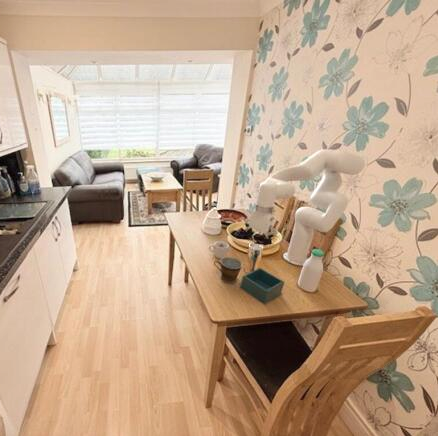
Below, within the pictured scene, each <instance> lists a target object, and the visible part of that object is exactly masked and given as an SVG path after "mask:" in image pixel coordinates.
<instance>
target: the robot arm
mask: <svg viewBox="0 0 438 436" xmlns="http://www.w3.org/2000/svg"><path fill="white" fill-rule="evenodd" d="M365 166H366V160H365V158H364V157H363V156H359V155H357V154H353V153H351V152H347V151H343V150H336V149H327V148H324V149H320V150H317V151H316V152H315V153H313V154H312V155H310V156H309V157H308V158H306V159H304V160H302V162H301V163H299V164H297V165H292V166H288V167H285V168H283V169H280V170H278V171H276V172H274V173H273V174H271V175H270V176H269V177H267V178H266V180H265V181H262V182H261V183H260V184H259V188H258V192H257V197H256V203H255V207H254V208H253V210H252V213H251V215H250V217H249V218H246V219H244V220H243V221H244V225H245V228H246V235H245V237H246V238H250V237H252V235H253V230H255V231H257V232H259V233H261V234H264V236H265V237H264V239H263V245H262V246H268V245H269V244H270V241H271V238H274V237H275V236H276V235H277V234H278V232H279V231H277V230H276V229H275V228H274V224H275V223H274V222H275V213H276V209H274V208H275V202H276V200H277V199H280V200H286V199H290V198H292V197H293V196H294V195H295V193H296V192H297V191H296V186H295V185H294V184H293V183H291V182H299V181H309V180H311V179H313V178H314V177H316V176H318V174H320V173H321V172H323V173H322V174H323V175H322V178H321V180H320V182H319V183H318V185H317V187H316V188H315V190H314V191H313V192H312V194H311V196H310V198H309V203H310V205H311V206H314V207H316V208H314V207H311V206H301V207H299V208H298V209H296V211H295V214H294V227H293V230H292V234H291V238H290V241H289V244H288V248H287V252H284V253H283V255H282V257H283V259H284V260H285V261H286V262H287V263H289V264H291V265H294V266H302V267H303V265H304V263H305V262H306V261H307V260H308V259H309V258H308V256H309V255H308V254H310V253H311V252H310V249H311V245H312V242H313V239H314V236H315V231H318V232H319V233H327V232H329V231H330V230H332V229H333V227H334V226H335V225H336V223H337V222H338V221H339V219H340V218H341V216H342V215H343V213H344V212H345V211H346V209H347V208H348V205H349V197H348V196H347V195H345V194H342V193H339V192H338V191H339V190H340V188H341V186H342V184H343V179H342V176H341V174H344V175H345V174H346V175H349V176H355V175H358V174H360V173H361V172H363V170H364V169H365ZM317 208H318V209H317ZM319 209H322V210H323V211H322V210H319ZM324 211H325V212H324Z"/></svg>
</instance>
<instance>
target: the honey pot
mask: <svg viewBox="0 0 438 436" xmlns="http://www.w3.org/2000/svg"><path fill="white" fill-rule="evenodd" d="M217 209H218V208H217V207H216V206H215V207H212V208H211V209H210V210H209V211H208V212H207V213H206V215H205V217H204V220H203V222H202V228H201V230H202V232H203V233H205V234H207V235H210V236H212V235H213V236H214V235H215V236H216V235H219V234H221V233H222V226H223V225H222V222H221V221H222V220H221V218H222V215H221V214H220V213H219V212H218V210H217Z"/></svg>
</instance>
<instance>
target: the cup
mask: <svg viewBox="0 0 438 436" xmlns="http://www.w3.org/2000/svg"><path fill="white" fill-rule="evenodd" d="M211 247H212V248H213V249H211ZM229 248H230V245H229V244H228V242H225V241H221V240H218V241H215V242H214V243H211V244H209V245H208V250H209V252H211V253H213V254H214V257H215V258H217V259H220V260H221V259H222V258H225V257H227V254H228V252H229Z"/></svg>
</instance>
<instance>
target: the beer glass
mask: <svg viewBox="0 0 438 436" xmlns="http://www.w3.org/2000/svg"><path fill="white" fill-rule="evenodd" d="M263 253H264V247H263V245H261V244H259V243H250V244H249V246H248V249H247V252H246V266H245V269H244V271H245V273H246V274H248V273H250V272H252V271H254V270H256V269H258V268H259V265H260V262H261V260H262V257H263Z"/></svg>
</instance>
